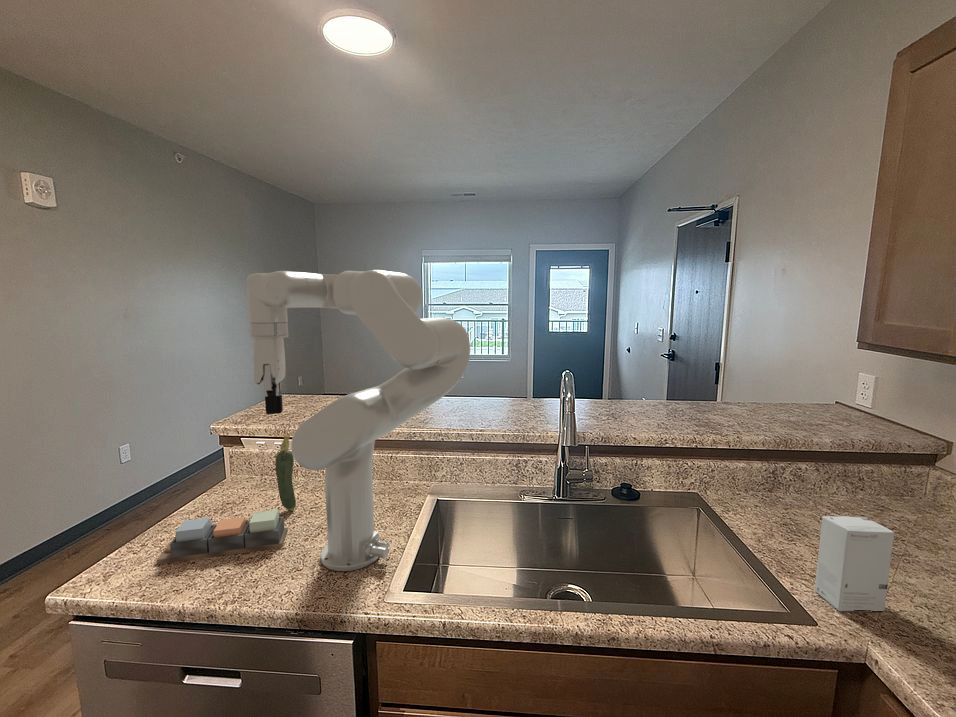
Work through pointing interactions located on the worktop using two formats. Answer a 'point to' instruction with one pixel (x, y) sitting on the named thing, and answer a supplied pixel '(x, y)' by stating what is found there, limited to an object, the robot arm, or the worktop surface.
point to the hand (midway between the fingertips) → (274, 412)
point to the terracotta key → (230, 527)
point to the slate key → (193, 529)
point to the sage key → (264, 521)
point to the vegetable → (285, 475)
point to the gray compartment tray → (224, 544)
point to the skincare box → (853, 563)
